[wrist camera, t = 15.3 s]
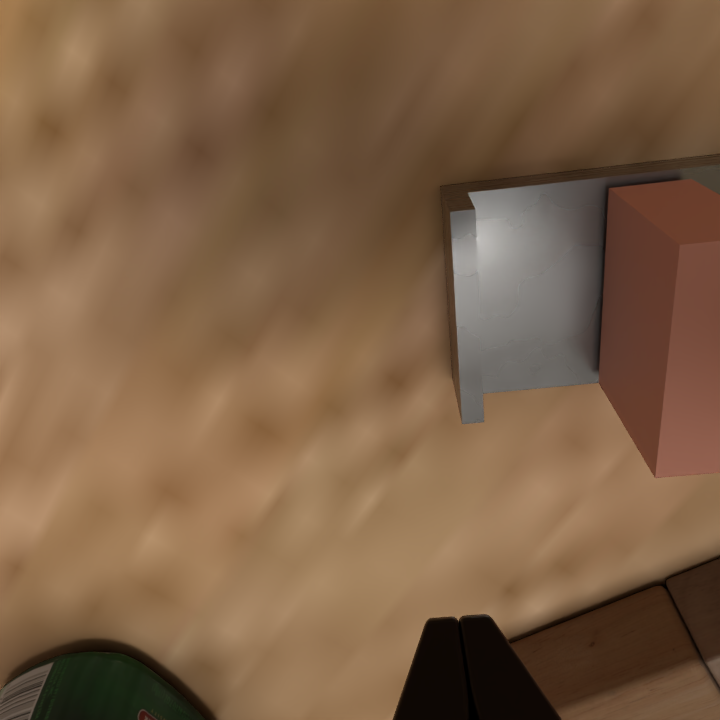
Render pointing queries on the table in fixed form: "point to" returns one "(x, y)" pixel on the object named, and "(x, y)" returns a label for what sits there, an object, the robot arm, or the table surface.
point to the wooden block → (636, 655)
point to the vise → (535, 274)
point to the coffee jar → (92, 691)
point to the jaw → (664, 323)
